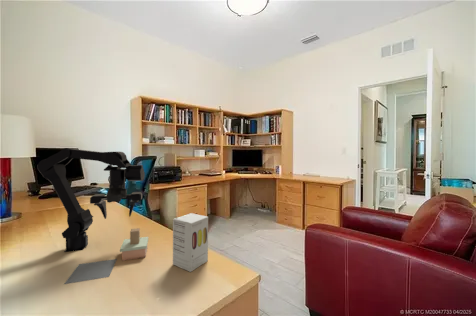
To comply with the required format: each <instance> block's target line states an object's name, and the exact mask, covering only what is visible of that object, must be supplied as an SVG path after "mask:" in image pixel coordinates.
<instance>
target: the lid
mask: <svg viewBox="0 0 476 316" xmlns="http://www.w3.org/2000/svg"><path fill="white" fill-rule="evenodd" d="M140 230H141V229H140V227H136V228H131V229H130V232H129V238H126V239H125V238H124V239H123V242H122V243H121V246H120V249H119V252H120V253H122V252H123V251H131V250H138V249H146V248H147V249H148V243H149V236H144V237H143V236H142V237H140V236H141V235H140V234H141V231H140Z"/></svg>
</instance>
